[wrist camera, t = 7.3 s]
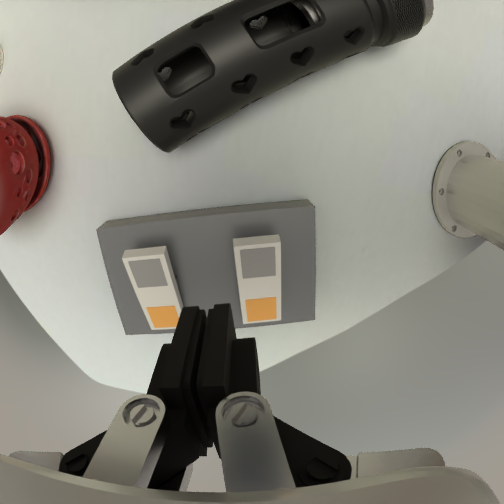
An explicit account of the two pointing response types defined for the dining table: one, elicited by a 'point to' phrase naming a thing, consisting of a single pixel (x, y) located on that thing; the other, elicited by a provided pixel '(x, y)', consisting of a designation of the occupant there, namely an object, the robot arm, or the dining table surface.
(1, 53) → the cup
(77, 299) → the dining table surface
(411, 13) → the muzzle brake
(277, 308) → the rocker
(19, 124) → the plant pot
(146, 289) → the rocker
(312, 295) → the switch panel
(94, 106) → the dining table surface
